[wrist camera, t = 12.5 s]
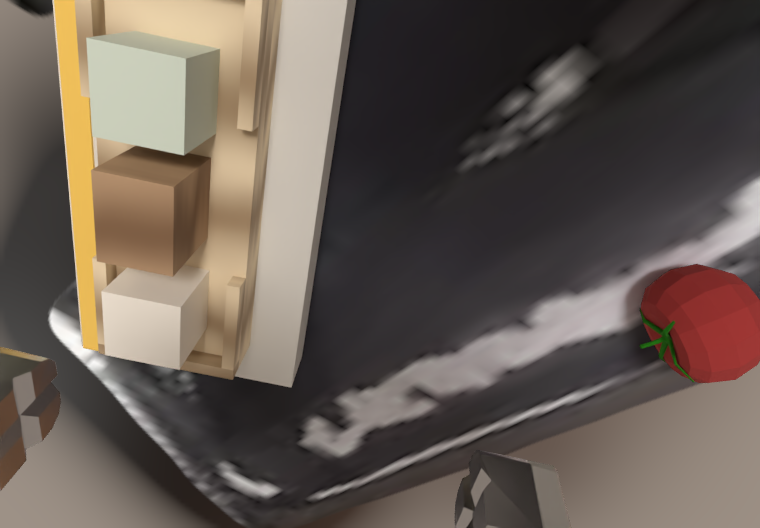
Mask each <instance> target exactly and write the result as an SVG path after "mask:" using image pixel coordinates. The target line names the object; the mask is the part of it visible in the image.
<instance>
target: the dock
mask: <svg viewBox="0 0 760 528" xmlns="http://www.w3.org/2000/svg"><path fill="white" fill-rule="evenodd" d="M355 4H356V0H282V7H281V18H280V29H279V39H278V50H277V61H276V71H275V82H274V93H273V103H272V114H271V125H270V135H269V146H268V157H267V167H266V178H265V189H264V199H263V210H262V221H261V231H260V242H259V253H258V263H257V274H256V285H255V295H254V306H253V317H252V327H251V338H250V346H249V348H248V350H247V352H246V354H245V356H244V358H243V360H242V362H241V364H240V366H239V368H238V370H237V372H236V374H235V376H236V377H241V378H246V379H251V380H256V381H261V382H266V383H271V384H276V385H281V386H286V387H292V384H293V381H294V379H295V376H296V373H297V370H298V367H299V364H300V361H301V358H302V354H303V347H304V341H305V334H306V328H307V321H308V314H309V308H310V301H311V295H312V288H313V281H314V275H315V268H316V262H317V255H318V248H319V242H320V235H321V229H322V222H323V215H324V209H325V202H326V196H327V189H328V182H329V176H330V169H331V162H332V156H333V149H334V143H335V136H336V129H337V123H338V116H339V110H340V103H341V96H342V90H343V83H344V77H345V70H346V63H347V57H348V50H349V44H350V37H351V30H352V24H353V17H354V11H355ZM53 11H54V22H55V34H56V46H57V56H58V69H59V80H60V92H61V103H62V116H63V127H64V139H65V151H66V163H67V174H68V186H69V198H70V209H71V221H72V233H73V244H74V256H75V267H76V279H77V291H78V303H79V314H80V326H81V338H82V346H83V348H86V349H91V350H96V351H99V350H98V336H97V321H96V306H95V292H94V277H93V262H92V258H93V257H94V256H95V255H96V241H95V225H94V210H93V194H92V179H91V170H92V169H93V168H95V167H97V166H98V156H97V138H96V137H93V136H92V124H91V108H90V98H88V97H84V96H81V87H80V72H79V58H78V43H77V28H76V14H75V0H53Z"/></svg>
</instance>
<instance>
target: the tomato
mask: <svg viewBox="0 0 760 528" xmlns="http://www.w3.org/2000/svg"><path fill="white" fill-rule="evenodd" d="M640 312H641V316H642V320H643V323H644V326H645V328H646V330H647V332H648V335H649V337H650V339H651V342H648V343H644V344H641V345H640V348H641V349H642V348H646V347H649V346H653V345H654V346H655V347H656V349H657V350H658V352H659V358H660V359H661V360H663V361H664V362H665V361H666V362H667V364H668V365H669V366H670V367H671V368H672V369H673V370H674V371H676V372H677V373H679V374H680V375H681V376H683V377H686V378H688V379H690V380H691V381H692V382H694V381H696V382H698V383H711V382H719V381H728V380H736V379H737V378H739V377H740V376H742V375H743V374H745V373H746V372H747V371H749V370H750V369H752V368H753V367H755V366H756V365H758V363H759V361H760V300H759V299H758V297H757V296H756V295H755V294H754V292H753V291H752V290H751V289H750V287H749V286H748V285H747V284H746V283H745V282H743V281H742V280H741V279H740V278H738V277H737V276H736V275H734V274H731V273H728V272H725V271H722V270H718V269H714V268H710V267H706V266H703V265H699V264H694V265H690V266H686V267H681V268H677V269H672V270H670V271H668V272H666V273H665V274H663V275H662V276H660V277H659V278H658V279H657V280H656V281H654V282H653V283H652V284H651V285H650V286H648V287H647V288H646V289H645V292H644V296H643V300H642V303H641V309H640Z"/></svg>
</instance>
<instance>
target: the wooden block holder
mask: <svg viewBox="0 0 760 528" xmlns="http://www.w3.org/2000/svg"><path fill="white" fill-rule="evenodd" d="M281 7H282V0H75V14H76V28H77V43H78V58H79V72H80V87H81V96H84V97H88V98H90V91H89V75H88V58H87V41H86V38H87V37H94V36H101V35H109V34H116V33H123V32H130V31H138V32H143V33H148V34H153V35H157V36H162V37H167V38H172V39H176V40H181V41H186V42H190V43H195V44H200V45H205V46H209V47H214V48H219V49H220V63H219V84H218V105H217V126H216V134H215V135H213V136H212V137H210V138H209V139H207V140H206V141H204V142H203V143H201V144H200V145H199V146H197V147H196V148H194V149H193V150H191V151H190V152H188V153H187V154H185V155H179V154H175V153H170V152H165V151H160V150H155V149H150V148H146V147H141V146H136V145H131V144H126V143H121V142H117V141H112V140H107V139H102V138H97V137H96V138H97V156H98V166H97V167H95V168H93V169H92V170H91V179H92V194H93V210H94V225H95V241H96V255H95V256H94V257H93V258H92V262H93V277H94V292H95V306H96V321H97V336H98V350H99V353H101V354H105V343H104V326H103V310H102V293H101V291H102V290H103V289H104V288H106V287H107V286H108V285H109V284H110V283H111V282H112V281H113V280H114V279H115V278H116V277H117V276H118V275H120V274H121V273H122V272H123V271H124V270H125V269H126V268H132V269H137V270H142V271H147V272H151V273H156V274H161V275H166V276H171V277H173V276H174V275H175V274H176V273H177V272H178V271H179V269H180V268H181V267H182V266H183V265H186V266H191V267H196V268H201V269H206V270H209V290H208V310H207V328H206V330H205V331H204V333H203V334H202V336H201V337H200V339H199V340H198V342H197V344H196V345H195V347H194V348H193V350H192V351H191V353H190V354H189V356H188V357H187V359H186V360H185V362H184V364H183V365H182V367H181V368H180V369H181V370H186V371H191V372H196V373H201V374H206V375H211V376H216V377H221V378H226V379H231V380H233V378H234V376H235V374H236V372H237V370H238V368H239V366H240V364H241V362H242V360H243V358H244V356H245V354H246V352H247V350H248V348H249V346H250V338H251V327H252V317H253V306H254V295H255V285H256V274H257V263H258V253H259V242H260V231H261V221H262V210H263V199H264V189H265V178H266V167H267V157H268V146H269V135H270V125H271V114H272V103H273V93H274V82H275V71H276V61H277V50H278V39H279V29H280V18H281Z"/></svg>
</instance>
